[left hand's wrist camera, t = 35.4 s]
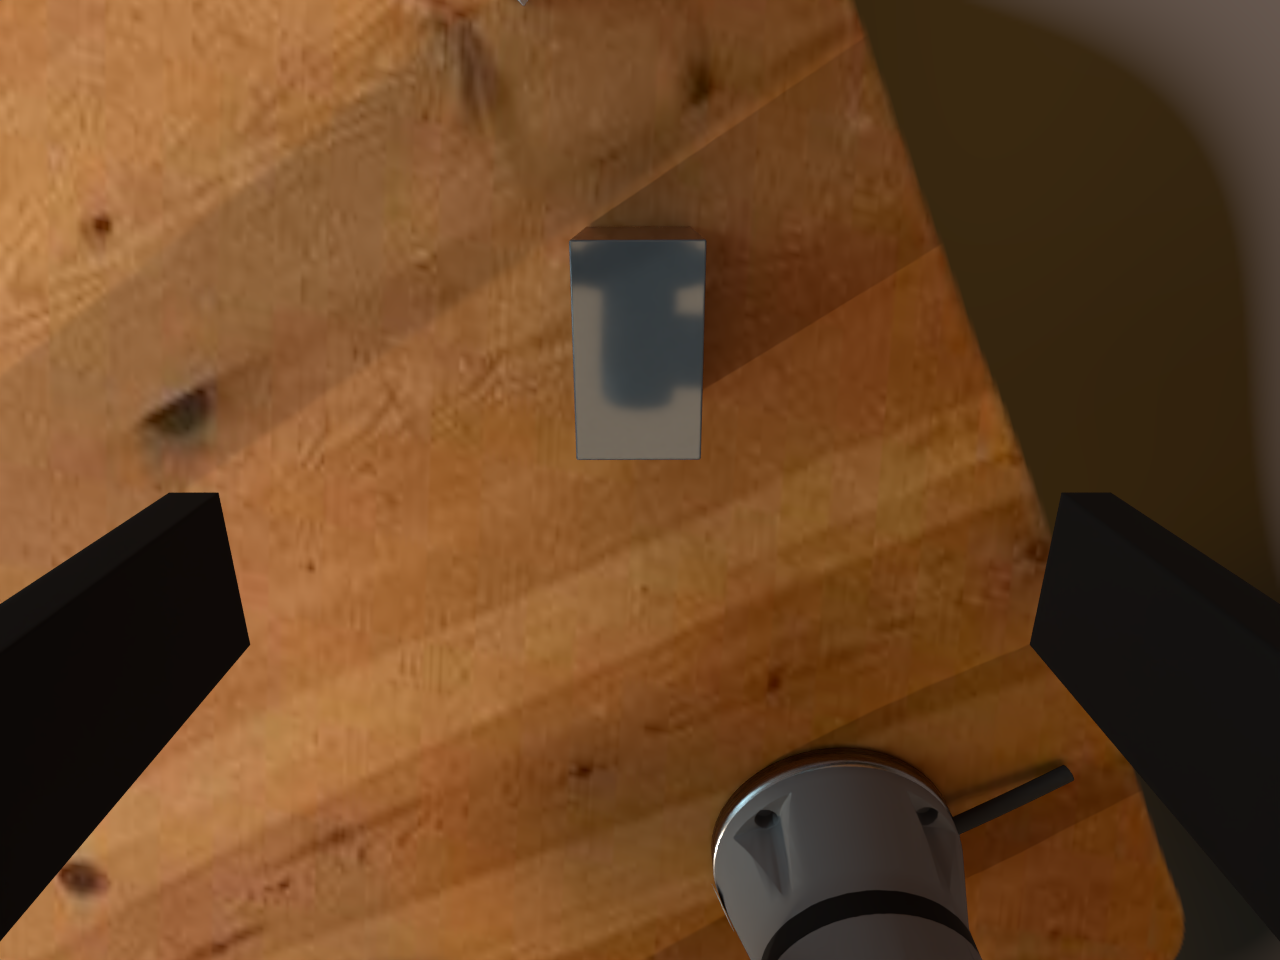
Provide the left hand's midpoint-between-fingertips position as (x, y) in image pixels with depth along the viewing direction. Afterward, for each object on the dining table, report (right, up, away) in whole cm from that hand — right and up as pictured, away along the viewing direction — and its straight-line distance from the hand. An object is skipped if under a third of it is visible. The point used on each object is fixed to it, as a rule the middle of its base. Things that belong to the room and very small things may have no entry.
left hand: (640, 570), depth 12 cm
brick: (0, +9, +25) cm, 27 cm away
